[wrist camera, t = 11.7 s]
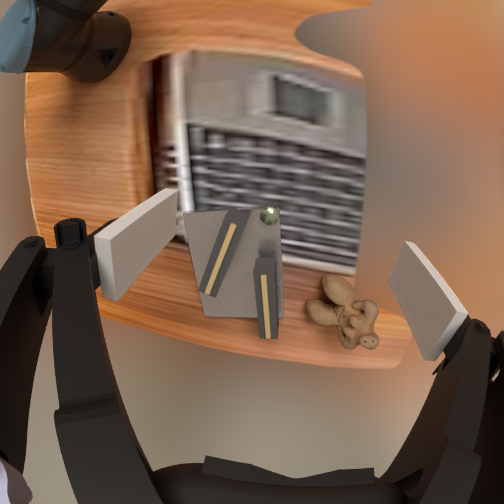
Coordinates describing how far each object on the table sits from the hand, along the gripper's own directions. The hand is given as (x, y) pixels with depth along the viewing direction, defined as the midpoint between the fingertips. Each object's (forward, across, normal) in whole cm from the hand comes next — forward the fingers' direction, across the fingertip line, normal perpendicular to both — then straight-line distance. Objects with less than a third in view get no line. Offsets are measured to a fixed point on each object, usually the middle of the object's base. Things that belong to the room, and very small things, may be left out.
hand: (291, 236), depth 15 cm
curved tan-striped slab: (+27, +1, -22) cm, 35 cm away
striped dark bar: (+27, -7, -15) cm, 32 cm away
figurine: (+29, +15, -22) cm, 39 cm away
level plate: (+29, -5, -20) cm, 35 cm away
